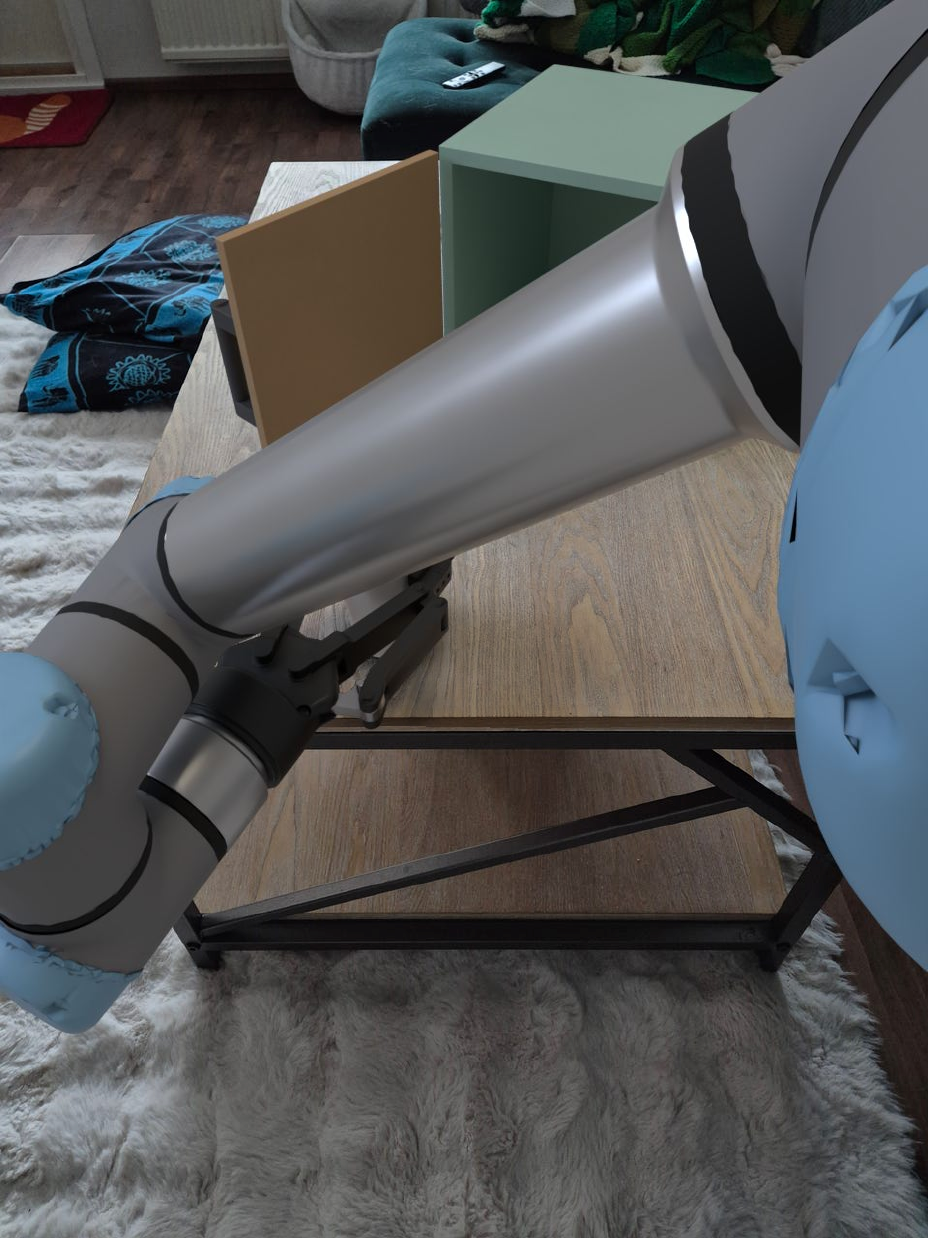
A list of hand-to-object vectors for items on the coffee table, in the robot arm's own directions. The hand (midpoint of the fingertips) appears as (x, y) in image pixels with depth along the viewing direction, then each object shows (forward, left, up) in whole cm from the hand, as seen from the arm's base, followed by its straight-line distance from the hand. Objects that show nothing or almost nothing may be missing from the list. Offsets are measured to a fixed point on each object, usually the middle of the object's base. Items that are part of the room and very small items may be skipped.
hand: (414, 518), depth 63 cm
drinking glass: (-4, +3, -8) cm, 10 cm away
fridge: (+32, -18, -8) cm, 38 cm away
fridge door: (+20, +7, -8) cm, 23 cm away
